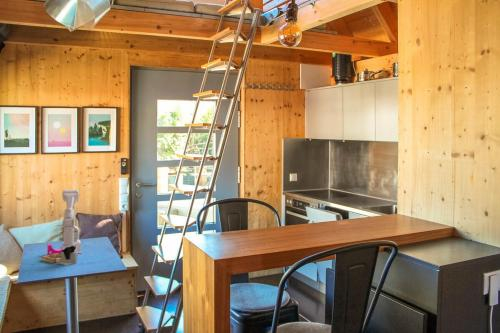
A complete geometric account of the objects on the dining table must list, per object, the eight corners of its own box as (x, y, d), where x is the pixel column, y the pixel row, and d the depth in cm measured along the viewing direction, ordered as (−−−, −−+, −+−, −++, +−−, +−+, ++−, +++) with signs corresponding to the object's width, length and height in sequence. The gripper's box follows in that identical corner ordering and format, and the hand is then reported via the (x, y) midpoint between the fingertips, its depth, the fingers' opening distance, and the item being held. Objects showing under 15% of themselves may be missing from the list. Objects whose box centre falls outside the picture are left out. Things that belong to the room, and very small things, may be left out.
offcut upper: (61, 254, 291) (61, 252, 291) (68, 256, 287) (68, 253, 287) (58, 255, 289) (58, 253, 289) (65, 256, 285) (65, 254, 285)
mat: (71, 260, 284) (71, 260, 284) (79, 262, 280) (79, 261, 280) (58, 263, 277) (58, 262, 277) (66, 265, 273) (66, 264, 273)
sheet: (62, 261, 280) (62, 252, 280) (77, 262, 278) (77, 252, 278) (61, 262, 279) (61, 252, 279) (75, 263, 277) (75, 253, 277)
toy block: (69, 252, 310) (69, 241, 310) (71, 253, 305) (71, 243, 305) (46, 254, 302) (46, 243, 302) (48, 256, 297) (48, 245, 297)
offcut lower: (59, 256, 292) (59, 254, 292) (69, 258, 287) (69, 256, 287) (56, 257, 290) (56, 255, 290) (65, 259, 285) (65, 257, 285)
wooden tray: (59, 256, 295) (59, 252, 295) (72, 259, 287) (72, 255, 287) (41, 260, 284) (41, 256, 284) (54, 263, 276) (54, 259, 276)
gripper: (70, 234, 286) (70, 255, 286) (55, 239, 272) (56, 261, 272) (79, 235, 285) (80, 256, 285) (66, 239, 270) (66, 261, 271)
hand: (69, 258), depth 278 cm, fingers open, 3 cm apart
